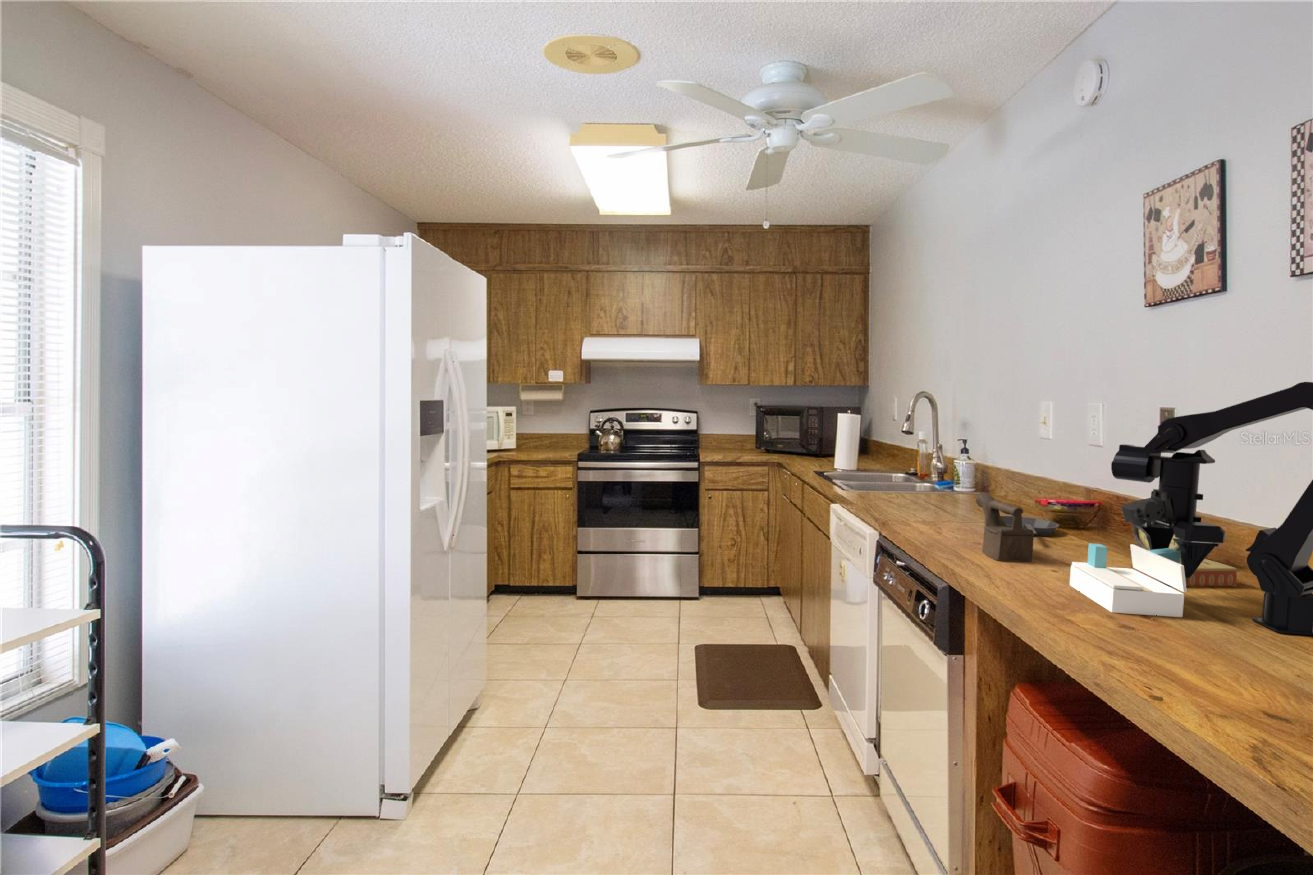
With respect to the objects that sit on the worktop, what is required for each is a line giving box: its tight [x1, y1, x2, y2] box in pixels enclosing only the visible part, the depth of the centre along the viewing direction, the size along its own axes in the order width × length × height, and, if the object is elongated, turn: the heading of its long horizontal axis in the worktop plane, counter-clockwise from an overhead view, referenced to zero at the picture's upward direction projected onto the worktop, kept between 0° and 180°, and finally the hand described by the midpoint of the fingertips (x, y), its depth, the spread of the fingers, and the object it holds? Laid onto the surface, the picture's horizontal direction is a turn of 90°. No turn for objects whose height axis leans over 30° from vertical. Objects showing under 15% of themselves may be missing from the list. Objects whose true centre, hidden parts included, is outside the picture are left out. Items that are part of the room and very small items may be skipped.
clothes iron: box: [975, 491, 1035, 562], centre depth 161 cm, size 8×16×13 cm, turn 1°
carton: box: [1129, 557, 1238, 588], centre depth 142 cm, size 8×16×4 cm, turn 94°
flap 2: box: [1129, 543, 1188, 593], centre depth 125 cm, size 17×4×4 cm
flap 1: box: [1071, 542, 1143, 590], centre depth 127 cm, size 17×4×4 cm, turn 171°
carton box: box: [1069, 564, 1185, 618], centre depth 127 cm, size 17×11×4 cm, turn 171°
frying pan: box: [1000, 515, 1060, 537], centre depth 184 cm, size 18×32×4 cm, turn 159°
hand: (1171, 570), depth 127 cm, fingers open, 9 cm apart
